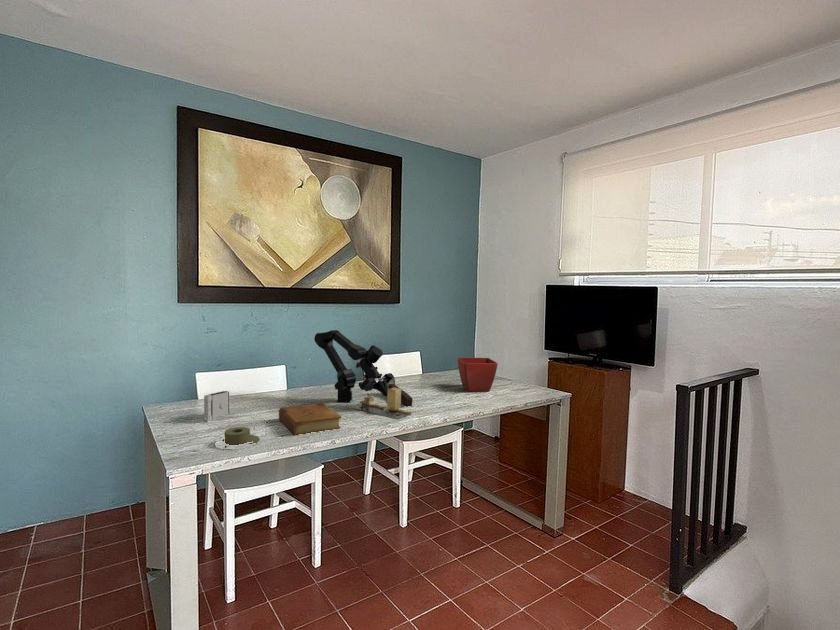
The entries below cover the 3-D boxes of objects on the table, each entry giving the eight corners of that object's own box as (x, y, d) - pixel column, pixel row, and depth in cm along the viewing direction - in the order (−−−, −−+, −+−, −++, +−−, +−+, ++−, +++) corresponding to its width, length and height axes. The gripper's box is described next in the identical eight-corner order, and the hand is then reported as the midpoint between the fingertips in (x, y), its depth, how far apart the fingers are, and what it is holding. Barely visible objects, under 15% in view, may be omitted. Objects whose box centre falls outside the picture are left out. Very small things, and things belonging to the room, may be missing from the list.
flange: (234, 422, 168) (204, 434, 154) (268, 427, 164) (240, 439, 150) (234, 434, 169) (204, 448, 154) (268, 439, 164) (240, 453, 150)
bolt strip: (352, 408, 207) (352, 407, 207) (362, 405, 213) (362, 404, 213) (398, 419, 192) (398, 417, 192) (408, 415, 198) (408, 414, 198)
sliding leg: (380, 412, 199) (380, 391, 199) (393, 407, 207) (393, 387, 207) (388, 413, 197) (388, 392, 196) (400, 409, 205) (401, 388, 204)
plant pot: (497, 393, 247) (498, 362, 246) (463, 393, 244) (464, 362, 243) (487, 385, 265) (488, 357, 264) (456, 385, 263) (456, 357, 262)
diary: (278, 421, 187) (278, 407, 187) (321, 415, 197) (321, 402, 197) (294, 437, 168) (294, 422, 168) (340, 429, 178) (341, 415, 177)
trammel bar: (355, 407, 209) (355, 398, 209) (366, 404, 215) (366, 395, 215) (402, 418, 194) (402, 408, 194) (411, 414, 200) (412, 405, 200)
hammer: (413, 413, 215) (390, 392, 241) (415, 391, 213) (391, 372, 239) (404, 414, 212) (381, 393, 239) (405, 392, 210) (383, 372, 237)
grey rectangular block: (207, 423, 181) (207, 398, 181) (197, 421, 183) (196, 397, 182) (230, 413, 195) (230, 391, 194) (220, 412, 196) (220, 390, 195)
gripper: (372, 376, 223) (389, 402, 217) (346, 382, 207) (364, 410, 202) (385, 362, 218) (402, 388, 212) (359, 367, 202) (378, 395, 197)
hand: (387, 395), depth 206 cm, fingers closed
